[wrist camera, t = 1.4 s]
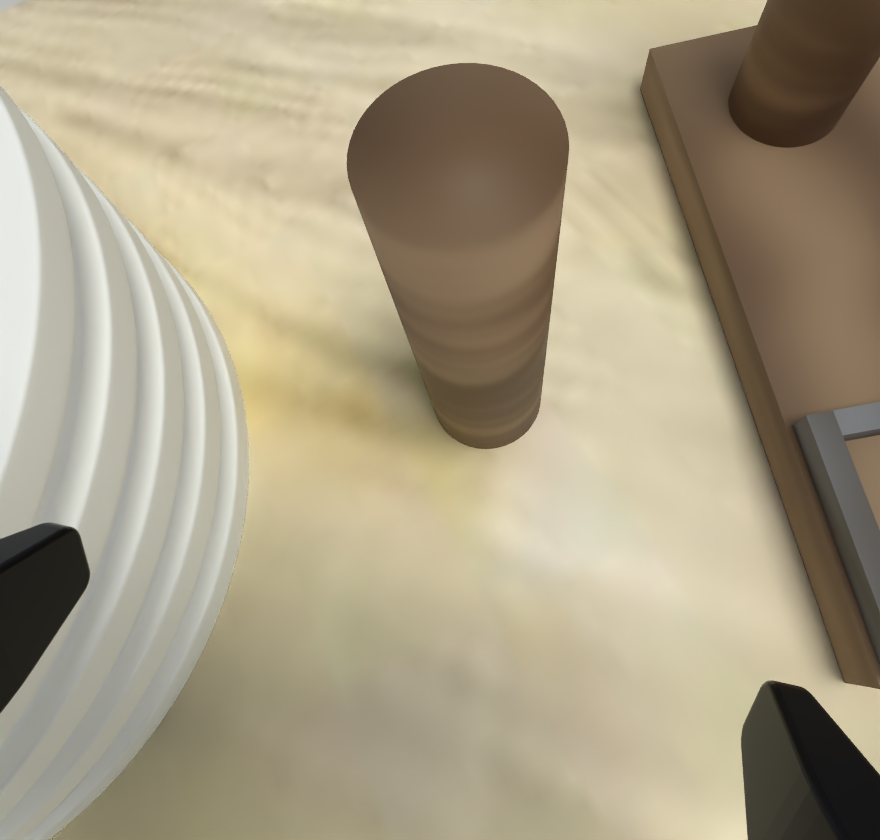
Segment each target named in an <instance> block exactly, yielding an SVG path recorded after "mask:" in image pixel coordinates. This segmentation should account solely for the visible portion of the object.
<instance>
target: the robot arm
mask: <svg viewBox="0 0 880 840" xmlns="http://www.w3.org/2000/svg"><path fill="white" fill-rule="evenodd" d="M89 579H90V568H89V565H88V561H87V558H86V554H85V550H84V547H83V543H82V539H81V536H80V534H79V532H78V531H77V530H76V529H75V528H73V527H70V526H65V525H61V524H56V523H42V524H39V525H36V526H33V527H31V528H28V529H25V530H23V531H20V532H17V533H15V534H12V535H9V536H7V537H4V538H1V539H0V713H1V712H2V711H3V710H4V708H5V707H6V706H7V705H8V703H9V702H10V701H11V699H12V698H13V697H14V695H15V694H16V693H17V691H18V690H19V689H20V687H21V686H22V685H23V683H24V682H25V680H26V679H27V677H28V676H29V674H30V673H31V672H32V670H33V669H34V667H35V666H36V664H37V663H38V661H39V660H40V658H41V657H42V655H43V654H44V652H45V650H46V649H47V647H48V646H49V644H50V643H51V641H52V640H53V638H54V637H55V635H56V634H57V632H58V631H59V629H60V628H61V626H62V625H63V623H64V622H65V620H66V619H67V617H68V616H69V614H70V613H71V611H72V610H73V608H74V607H75V605H76V604H77V602H78V601H79V599H80V597H81V596H82V594H83V593H84V591H85V590H86V588H87V586H88V583H89ZM741 750H742V764H743V778H744V792H745V806H746V820H747V834H748V840H880V775H879V773H878V772H877V771H876V770H875V769H874V767H873V766H872V765H871V764H870V763H869V762H868V760H867V759H866V758H865V757H864V756H863V754H862V753H861V752H860V751H859V750H858V749H857V747H856V746H855V745H854V744H853V743H852V741H851V740H850V739H849V738H848V737H847V736H846V734H845V733H844V732H843V731H842V730H841V729H840V727H839V726H838V725H837V724H836V723H835V721H834V720H833V719H832V718H831V717H830V716H829V714H828V713H827V712H826V711H825V710H824V708H823V707H822V706H821V705H820V704H819V703H818V701H817V700H816V699H815V698H814V697H813V696H812V694H811V693H810V692H808V691H807V690H806V689H804V688H802V687H799V686H795V685H790V684H786V683H781V682H777V681H767V682H765V683H764V684H763V685H762V686H761V688H760V690H759V692H758V694H757V696H756V699H755V701H754V703H753V705H752V707H751V709H750V712H749V714H748V716H747V718H746V720H745V722H744V725H743V729H742V736H741Z"/></svg>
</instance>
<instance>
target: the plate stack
mask: <svg viewBox="0 0 880 840" xmlns="http://www.w3.org/2000/svg"><path fill="white" fill-rule="evenodd" d="M248 484H249V441H248V428H247V419H246V412H245V406H244V400H243V395H242V391H241V386H240V382H239V379H238V375H237V372H236V368H235V365H234V362H233V360H232V357H231V354H230V351H229V349H228V347H227V344H226V342H225V339H224V337H223V335H222V333H221V331H220V329H219V327H218V325H217V324H216V322H215V320H214V318H213V316H212V315H211V313H210V311H209V310H208V308H207V307H206V305H205V304H204V302H203V301H202V299H201V298H200V297H199V295H198V294H197V293H196V291H195V290H194V289H193V288H192V287H191V285H190V284H189V283H188V282H187V281H186V280H185V278H184V277H183V276H182V275H181V274H180V273H179V272H178V271H177V270H176V269H175V268H174V267H173V266H172V265H171V264H170V263H169V262H168V261H167V260H166V259H165V258H164V257H163V256H162V255H161V254H160V253H159V252H158V251H157V249H156V248H155V247H154V246H153V245H152V244H151V243H150V242H149V241H148V240H147V239H146V237H145V236H144V235H143V234H142V233H141V232H140V231H139V230H138V229H137V228H136V227H135V226H134V225H133V224H132V223H131V222H130V221H129V220H128V219H127V218H126V217H125V216H124V215H123V214H122V213H121V212H120V211H119V210H118V209H117V208H116V206H115V205H114V204H113V203H112V202H111V201H110V200H109V199H108V198H107V197H106V196H105V195H104V194H103V192H102V191H101V190H100V189H99V188H98V187H97V186H96V185H95V184H94V183H93V182H92V181H91V180H90V179H89V178H88V177H87V176H86V175H85V174H84V173H83V172H82V171H81V170H80V169H79V168H78V167H76V166H75V165H74V164H73V162H72V161H71V160H70V159H69V157H68V156H67V155H66V154H65V153H64V152H63V151H62V150H61V149H60V148H59V147H58V146H57V144H56V143H55V142H54V141H53V140H52V139H51V138H50V137H49V136H48V135H47V134H46V133H45V132H44V131H43V130H42V129H41V128H40V127H39V126H38V124H37V123H36V122H35V121H34V120H33V119H31V118H30V117H29V116H28V115H27V114H26V113H25V112H24V111H23V110H22V109H21V108H20V107H18V106H17V105H16V104H15V103H14V102H13V100H12V99H11V98H10V96H9V95H8V94H7V93H6V92H5V91H4V89H3V88H2V87H1V86H0V539H1V538H4V537H7V536H9V535H12V534H15V533H17V532H20V531H23V530H25V529H28V528H31V527H33V526H36V525H39V524H42V523H56V524H61V525H65V526H70V527H73V528H75V529H76V530H77V531H78V532H79V534H80V536H81V539H82V543H83V547H84V550H85V554H86V558H87V561H88V565H89V568H90V579H89V583H88V586H87V588H86V590H85V591H84V593H83V594H82V596H81V597H80V599H79V601H78V602H77V604H76V605H75V607H74V608H73V610H72V611H71V613H70V614H69V616H68V617H67V619H66V620H65V622H64V623H63V625H62V626H61V628H60V629H59V631H58V632H57V634H56V635H55V637H54V638H53V640H52V641H51V643H50V644H49V646H48V647H47V649H46V650H45V652H44V654H43V655H42V657H41V658H40V660H39V661H38V663H37V664H36V666H35V667H34V669H33V670H32V672H31V673H30V674H29V676H28V677H27V679H26V680H25V682H24V683H23V685H22V686H21V687H20V689H19V690H18V691H17V693H16V694H15V695H14V697H13V698H12V699H11V701H10V702H9V703H8V705H7V706H6V707H5V708H4V710H3V711H2V712H1V713H0V840H49V839H50V838H52V837H53V836H54V835H55V834H57V833H58V832H59V831H61V830H62V829H63V828H64V827H65V826H67V825H68V824H69V823H70V822H71V821H72V820H74V819H75V818H76V817H77V816H78V815H79V814H80V813H82V812H83V811H84V810H85V809H86V808H87V807H88V806H89V805H90V804H91V803H92V802H93V801H94V800H95V799H96V798H97V797H98V796H99V795H100V794H101V793H102V792H103V791H104V790H105V789H106V788H107V787H108V786H109V785H110V784H111V783H112V782H113V781H114V780H115V779H116V778H117V776H118V775H119V774H120V773H121V772H122V771H123V770H124V769H125V767H126V766H127V765H128V764H129V763H130V762H131V760H132V759H133V758H134V757H135V756H136V754H137V753H138V752H139V751H140V749H141V748H142V747H143V746H144V744H145V743H146V742H147V740H148V739H149V738H150V736H151V735H152V734H153V732H154V731H155V730H156V728H157V727H158V726H159V724H160V723H161V721H162V720H163V718H164V717H165V715H166V714H167V712H168V711H169V709H170V708H171V706H172V705H173V703H174V702H175V700H176V698H177V697H178V695H179V694H180V692H181V690H182V689H183V687H184V685H185V683H186V682H187V680H188V678H189V676H190V675H191V673H192V671H193V669H194V667H195V665H196V663H197V661H198V659H199V657H200V655H201V654H202V652H203V649H204V647H205V645H206V643H207V641H208V639H209V636H210V634H211V632H212V630H213V627H214V625H215V622H216V620H217V617H218V615H219V613H220V610H221V607H222V604H223V602H224V599H225V596H226V593H227V590H228V587H229V584H230V581H231V577H232V574H233V570H234V567H235V563H236V559H237V555H238V551H239V546H240V542H241V537H242V532H243V526H244V520H245V513H246V505H247V496H248Z"/></svg>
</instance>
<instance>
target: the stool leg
mask: <svg viewBox="0 0 880 840" xmlns="http://www.w3.org/2000/svg"><path fill="white" fill-rule="evenodd" d="M568 154H569V139H568V132H567V128H566V124H565V121H564V119H563V117H562V114H561V112H560V110H559V109H558V107H557V106H556V104H555V103H554V101H553V100H552V99H551V98H550V97H549V95H548V94H547V93H546V92H545V91H544V90H543V89H541V88H540V87H539V86H538V85H537V84H535V83H534V82H532V81H531V80H529V79H527V78H526V77H524V76H522V75H520V74H518V73H516V72H513V71H510V70H507V69H504V68H501V67H497V66H492V65H487V64H477V63H458V64H449V65H443V66H438V67H433V68H430V69H427V70H424V71H421V72H418V73H416V74H414V75H411V76H409V77H407V78H405V79H403V80H401V81H400V82H398V83H396V84H395V85H393V86H392V87H390V88H389V89H388V90H386V91H385V92H384V93H382V94H381V95H380V96H379V97H378V98H377V99H376V100H375V101H374V102H373V103H372V104H371V105H370V106H369V107H368V109H367V110H366V111H365V113H364V114H363V115H362V117H361V118H360V120H359V122H358V123H357V125H356V127H355V129H354V131H353V134H352V137H351V140H350V143H349V148H348V153H347V172H348V179H349V182H350V186H351V189H352V192H353V194H354V197H355V200H356V202H357V205H358V208H359V210H360V213H361V216H362V218H363V221H364V224H365V226H366V229H367V232H368V234H369V237H370V240H371V242H372V245H373V248H374V250H375V253H376V256H377V258H378V261H379V264H380V266H381V269H382V272H383V274H384V277H385V280H386V282H387V285H388V288H389V290H390V293H391V295H392V298H393V301H394V303H395V306H396V309H397V311H398V314H399V317H400V319H401V322H402V325H403V327H404V330H405V333H406V335H407V338H408V341H409V343H410V346H411V349H412V351H413V354H414V357H415V359H416V362H417V365H418V367H419V370H420V373H421V375H422V378H423V381H424V383H425V386H426V389H427V391H428V394H429V397H430V399H431V402H432V404H433V407H434V410H435V412H436V415H437V417H438V420H439V422H440V423H441V425H442V427H443V428H444V429H445V430H446V432H447V433H448V434H449V435H451V436H452V437H453V438H454V439H456V440H457V441H459V442H461V443H463V444H465V445H468V446H471V447H475V448H482V449H490V448H498V447H502V446H505V445H508V444H510V443H512V442H514V441H515V440H517V439H519V438H520V437H521V436H522V435H524V434H525V433H526V432H527V431H528V430H529V428H530V427H531V426H532V424H533V423H534V421H535V419H536V417H537V414H538V412H539V407H540V401H541V392H542V383H543V374H544V366H545V357H546V348H547V339H548V331H549V322H550V313H551V304H552V296H553V287H554V278H555V269H556V261H557V252H558V243H559V234H560V226H561V217H562V208H563V199H564V191H565V182H566V173H567V164H568Z"/></svg>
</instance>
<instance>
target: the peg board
mask: <svg viewBox="0 0 880 840" xmlns="http://www.w3.org/2000/svg"><path fill="white" fill-rule="evenodd" d="M641 92H642V95H643V98H644V101H645V104H646V107H647V110H648V113H649V116H650V118H651V121H652V124H653V127H654V130H655V133H656V136H657V139H658V142H659V145H660V148H661V150H662V153H663V156H664V159H665V162H666V165H667V168H668V171H669V174H670V177H671V179H672V182H673V185H674V188H675V191H676V194H677V197H678V200H679V203H680V206H681V208H682V211H683V214H684V217H685V220H686V223H687V226H688V229H689V232H690V235H691V237H692V240H693V243H694V246H695V249H696V252H697V255H698V258H699V261H700V264H701V266H702V269H703V272H704V275H705V278H706V281H707V284H708V287H709V290H710V293H711V295H712V298H713V301H714V304H715V307H716V310H717V313H718V316H719V319H720V322H721V324H722V327H723V330H724V333H725V336H726V339H727V342H728V345H729V348H730V351H731V353H732V356H733V359H734V362H735V365H736V368H737V371H738V374H739V377H740V380H741V382H742V385H743V388H744V391H745V394H746V397H747V400H748V403H749V406H750V409H751V411H752V414H753V417H754V420H755V423H756V426H757V429H758V432H759V435H760V438H761V440H762V443H763V446H764V449H765V452H766V455H767V458H768V461H769V464H770V467H771V469H772V472H773V475H774V478H775V481H776V484H777V487H778V490H779V493H780V496H781V498H782V501H783V504H784V507H785V510H786V513H787V516H788V519H789V522H790V525H791V527H792V530H793V533H794V536H795V539H796V542H797V545H798V548H799V551H800V554H801V556H802V559H803V562H804V565H805V568H806V571H807V574H808V577H809V580H810V583H811V585H812V588H813V591H814V594H815V597H816V600H817V603H818V606H819V609H820V612H821V614H822V617H823V620H824V623H825V626H826V629H827V632H828V635H829V638H830V641H831V643H832V646H833V649H834V652H835V655H836V658H837V661H838V664H839V667H840V670H841V672H842V675H843V678H844V681H845V683H849V684H855V685H861V686H866V687H872V688H877V689H880V0H767V3H766V5H765V8H764V10H763V13H762V15H761V18H760V20H759V23H758V25H756V26H752V27H747V28H743V29H738V30H734V31H729V32H725V33H720V34H716V35H711V36H707V37H702V38H698V39H693V40H689V41H684V42H679V43H675V44H670V45H666V46H661V47H657V48H652V49H650V50H649V55H648V59H647V63H646V67H645V72H644V76H643V80H642V84H641Z"/></svg>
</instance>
